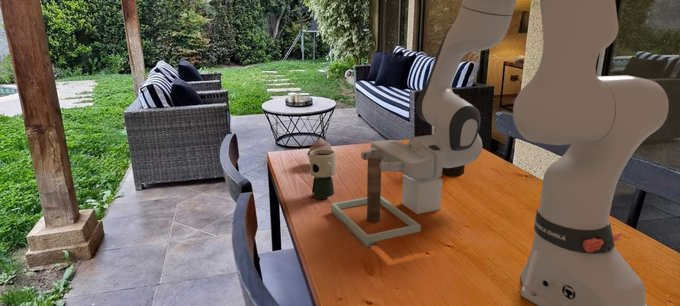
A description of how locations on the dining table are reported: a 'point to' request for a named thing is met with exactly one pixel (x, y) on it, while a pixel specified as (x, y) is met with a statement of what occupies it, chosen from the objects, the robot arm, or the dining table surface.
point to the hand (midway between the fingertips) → (371, 161)
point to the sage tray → (371, 238)
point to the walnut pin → (373, 189)
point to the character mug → (322, 172)
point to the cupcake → (319, 145)
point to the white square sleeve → (422, 194)
